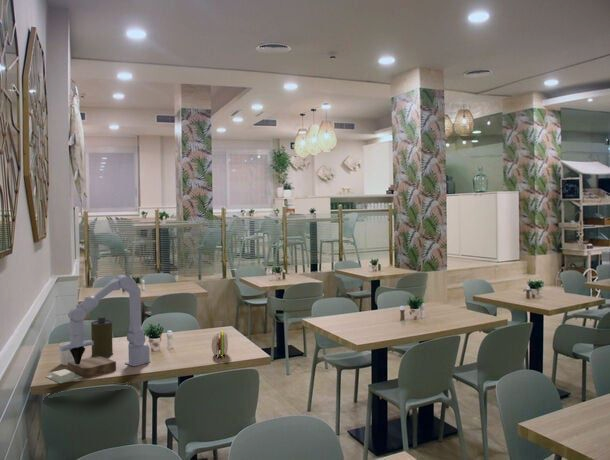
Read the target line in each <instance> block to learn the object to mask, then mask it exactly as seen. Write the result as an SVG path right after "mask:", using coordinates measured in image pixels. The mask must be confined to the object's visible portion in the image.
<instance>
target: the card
mask: <svg viewBox="0 0 610 460" xmlns="http://www.w3.org/2000/svg"><path fill="white" fill-rule="evenodd" d="M51 375H52V377H54V378H56V379H58V380H61V381H62V380H66V379H70V378H74V377H75V373H74V372H71V371H69V370H68V369H66V368H64V369H60V370H56V371H55V370H54V371H51Z"/></svg>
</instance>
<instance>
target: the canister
mask: <svg viewBox="0 0 610 460" xmlns="http://www.w3.org/2000/svg"><path fill="white" fill-rule="evenodd" d="M90 327H91V331H90V332H91V341H93V345H92V346H91V356H90V357H95V356H101V357H104V358H110V357H113V355H114V353H113V351H114V350H113V320H111V319H110V320H109V319H106V317H105V316H104V315H103V316H98V317H97V320H94V321H91V322H90Z"/></svg>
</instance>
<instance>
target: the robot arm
mask: <svg viewBox="0 0 610 460" xmlns="http://www.w3.org/2000/svg"><path fill="white" fill-rule="evenodd" d="M121 289H122V290H124V291H125V292H126V293H127V294H129V295H128V296H129V300H128V301H129V327H128V329H127V330H128V332H127V335H126V341H127V342H128V345H127V346H128V350H127V351H128V361H126V362H124V364H125V365H129V366H132V367H136V366H137V367H138V366H141V365H144V364H149V363H151V359H150V357H151V356H150V352H151V351H150V346H149V345H148V343H146V339H147V338H146V336H145V333H144V329H143V326H142V304H141V303H142V302H141V301H142V300H141V298H142V297H141V294H142V293H141V288H140V287H139V285H138V283H137V282H136V280H135V279H134V278H133V277H131V276H129V275H125V274H119V275H116V277H114V278H112V279H111V280H110V281H109V282H108V283H107V284H105V285H104V286H103V287H102V288H101V289H100V290H99V291H98V292H96V294H94V295H92V296H91V295H89V296H86V297H84V298H83V299H84V300H82V302H80V303H79V304H76V305H75V307H73V308H71V309H70V310H69V312H68V314H67V315H68V318H69V322H70V323H69V338H70V339H69V340H70V344H68V345H65V346H61V347H60V346H59V352H60V351H62V352H63V351H66V350H70V352H71V354H72V355H73V358H74V361H75V364H80V361H81V359H82V357H83V355H84V353H85V351H86V347H89V346H91V347H92V345H93V341H92V340H87V341H86V340H85V336H84V335H85V332H84V331H85V330H84V329H85V328H84V327H85V326H84V324H85V323H84V320H85V318H86V315H88V314H89V313H90V312H92V310H94V309H95V308H97V307H98V305H99V302H100V301H101V300H102V299H103V298H105V297H106V296H108V295H109V294H110V293H111V292H113V291H121Z"/></svg>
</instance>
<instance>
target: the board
mask: <svg viewBox="0 0 610 460" xmlns="http://www.w3.org/2000/svg"><path fill="white" fill-rule="evenodd" d="M67 370H69V371H71V372H74V373H75V374H77V375H79V376H81V377H83V378H85V379H86V378H90V377H94V376H98V375H102V374H106V373H109V372H113V371H116V370H117V361H115V360H113V359H111V358H110V359H109V358H108V357H105V358H104V357H101V356H95V357H92V356H90V357H86V358H83V359H82V358H81V361H80V364H75V361H73V362H68V365H67Z"/></svg>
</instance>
